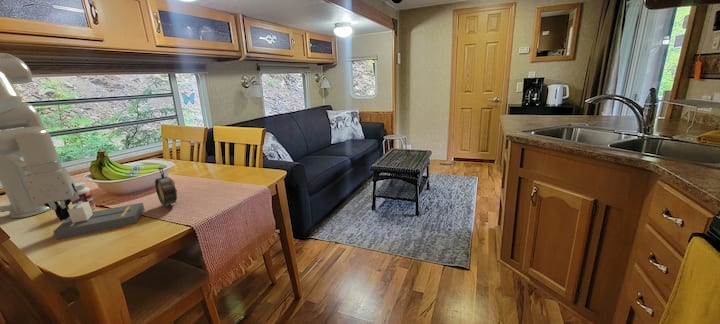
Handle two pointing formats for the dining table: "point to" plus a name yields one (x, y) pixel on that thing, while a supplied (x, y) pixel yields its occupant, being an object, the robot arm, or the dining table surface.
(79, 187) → the pill bottle
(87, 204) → the fader knob
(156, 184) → the alarm clock
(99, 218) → the fader console
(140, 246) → the dining table surface
